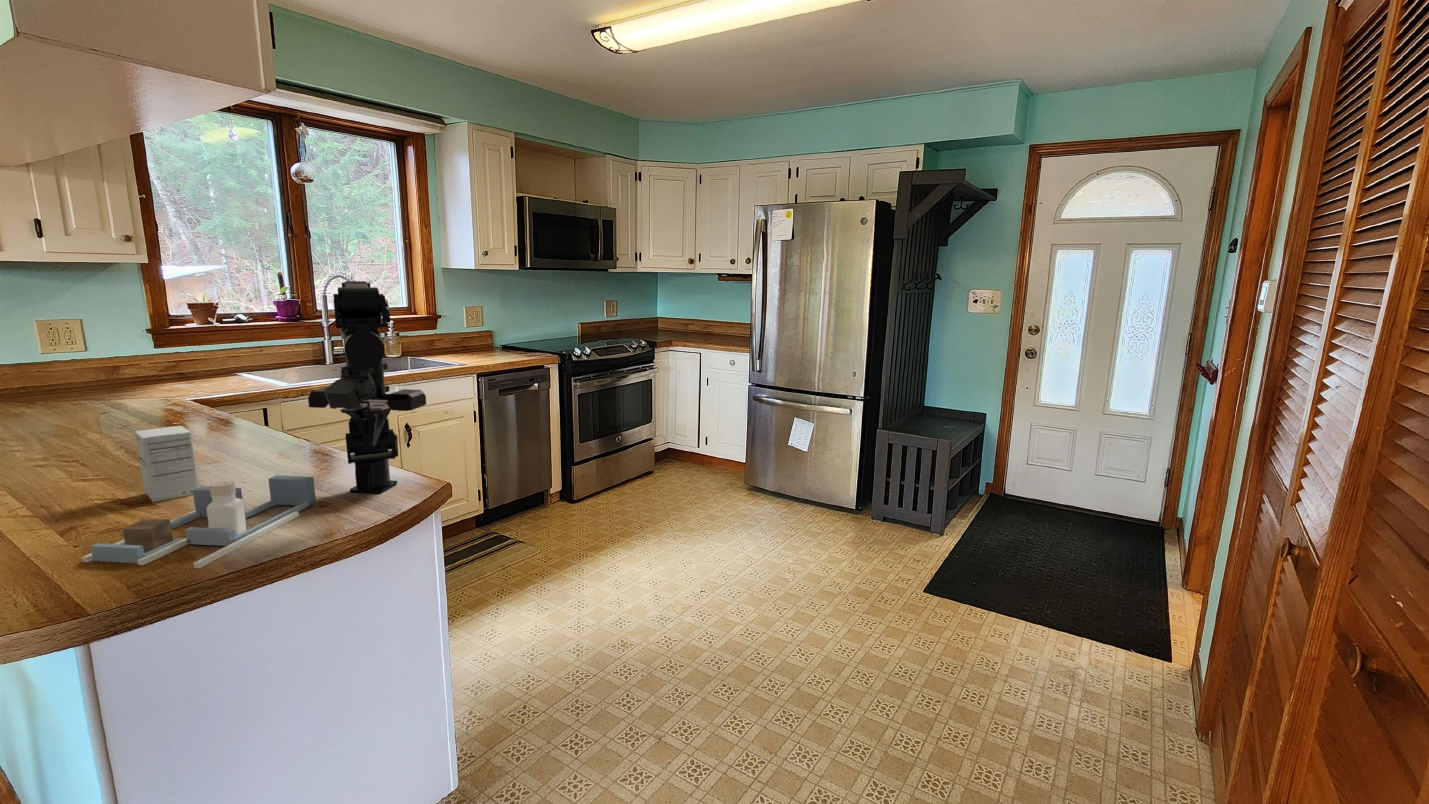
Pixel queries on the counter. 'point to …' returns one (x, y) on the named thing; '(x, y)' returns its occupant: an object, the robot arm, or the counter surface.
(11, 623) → the counter surface
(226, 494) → the pepper shaker
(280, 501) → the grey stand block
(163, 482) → the supplement box
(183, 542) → the lane rails
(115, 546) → the broken strip
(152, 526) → the walnut cube
